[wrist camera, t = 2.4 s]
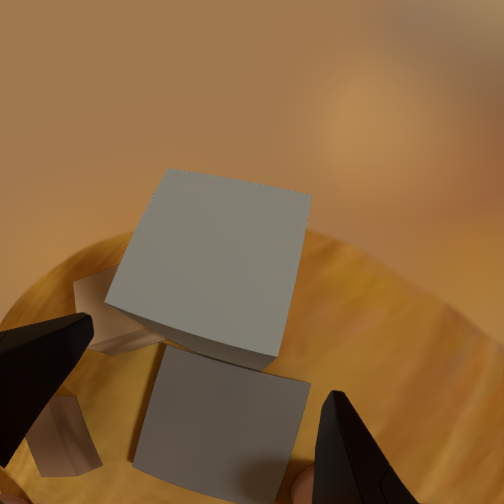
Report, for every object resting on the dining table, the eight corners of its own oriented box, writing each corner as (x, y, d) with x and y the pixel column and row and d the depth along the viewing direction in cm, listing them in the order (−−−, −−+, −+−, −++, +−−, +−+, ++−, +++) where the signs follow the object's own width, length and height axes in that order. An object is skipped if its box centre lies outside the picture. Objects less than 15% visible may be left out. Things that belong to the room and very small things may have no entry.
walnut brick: (104, 464, 14) (76, 476, 10) (69, 468, 13) (41, 476, 10) (76, 395, 16) (45, 394, 13) (45, 403, 15) (14, 402, 12)
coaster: (270, 505, 13) (271, 509, 12) (135, 464, 14) (132, 466, 13) (309, 383, 17) (311, 383, 16) (169, 345, 18) (166, 344, 18)
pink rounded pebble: (311, 519, 12) (322, 543, 9) (277, 485, 14) (282, 508, 10) (361, 485, 13) (382, 503, 10) (329, 451, 15) (347, 466, 11)
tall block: (261, 371, 18) (277, 356, 6) (198, 353, 18) (104, 301, 6) (277, 309, 19) (312, 194, 8) (216, 294, 20) (167, 168, 8)
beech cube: (114, 355, 18) (82, 347, 14) (103, 301, 20) (73, 282, 16) (166, 340, 19) (143, 328, 14) (151, 284, 20) (128, 260, 16)
